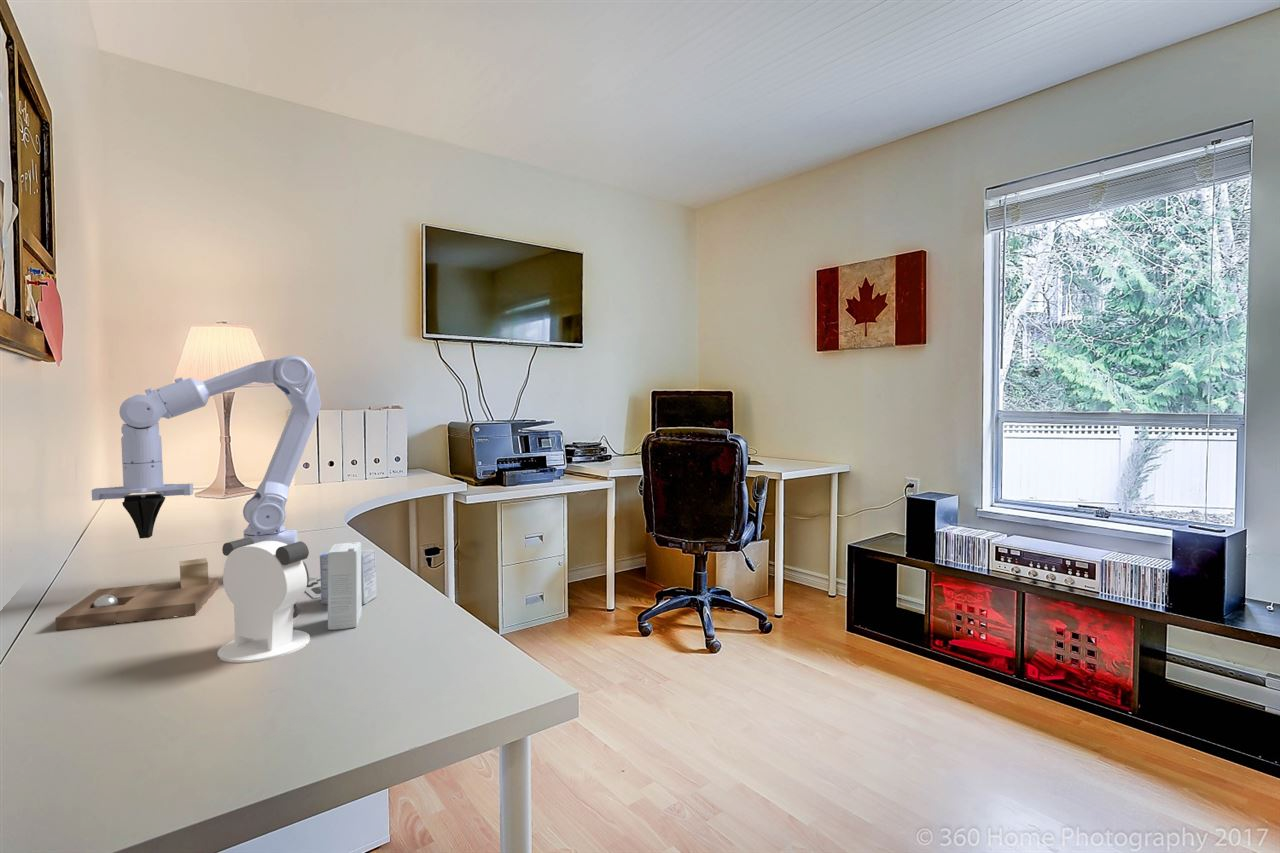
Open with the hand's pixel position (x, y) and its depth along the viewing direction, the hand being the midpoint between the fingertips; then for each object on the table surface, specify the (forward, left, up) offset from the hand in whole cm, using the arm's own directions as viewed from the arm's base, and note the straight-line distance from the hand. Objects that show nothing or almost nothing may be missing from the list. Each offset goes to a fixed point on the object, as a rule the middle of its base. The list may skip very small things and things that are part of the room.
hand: (145, 537), depth 117 cm
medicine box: (-34, +19, -11) cm, 40 cm away
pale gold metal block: (-8, +4, -8) cm, 12 cm away
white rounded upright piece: (-24, +37, -11) cm, 45 cm away
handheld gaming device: (-30, +7, -11) cm, 33 cm away
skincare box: (-34, +31, -11) cm, 47 cm away
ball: (+3, +11, -9) cm, 14 cm away
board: (-2, +9, -10) cm, 14 cm away
